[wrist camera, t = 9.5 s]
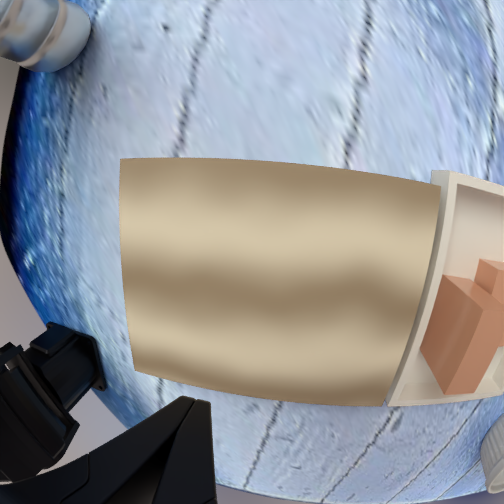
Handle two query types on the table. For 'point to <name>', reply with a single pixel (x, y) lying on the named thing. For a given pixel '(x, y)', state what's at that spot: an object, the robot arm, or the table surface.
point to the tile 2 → (491, 280)
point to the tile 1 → (462, 334)
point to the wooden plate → (272, 275)
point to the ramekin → (494, 456)
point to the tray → (460, 265)
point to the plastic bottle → (42, 33)
